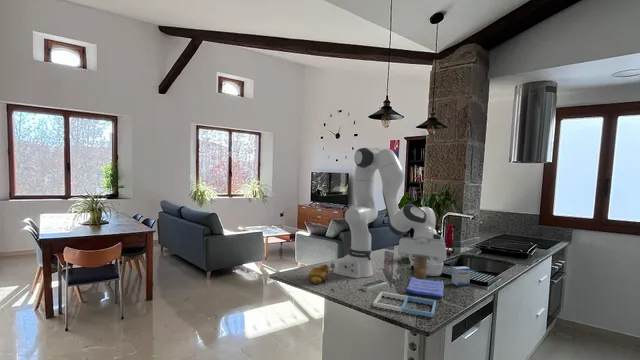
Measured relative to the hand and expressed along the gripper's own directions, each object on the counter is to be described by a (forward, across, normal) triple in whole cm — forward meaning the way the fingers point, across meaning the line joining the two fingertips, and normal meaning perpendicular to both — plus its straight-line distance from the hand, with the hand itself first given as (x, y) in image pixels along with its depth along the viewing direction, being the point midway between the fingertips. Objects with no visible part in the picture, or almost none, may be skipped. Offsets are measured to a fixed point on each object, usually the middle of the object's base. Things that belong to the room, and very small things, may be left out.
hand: (419, 266), depth 143 cm
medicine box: (-18, +16, +44) cm, 50 cm away
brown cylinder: (+3, 0, +4) cm, 5 cm away
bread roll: (+4, -53, +22) cm, 58 cm away
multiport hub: (+1, -24, +26) cm, 35 cm away
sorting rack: (+12, -6, +13) cm, 19 cm away
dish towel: (-6, 0, +33) cm, 34 cm away
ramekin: (-26, 0, +53) cm, 59 cm away
